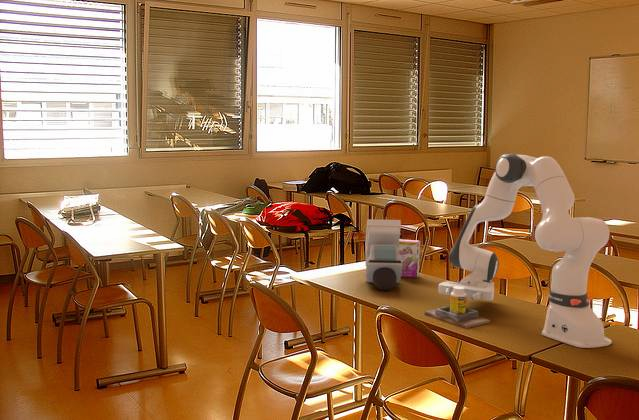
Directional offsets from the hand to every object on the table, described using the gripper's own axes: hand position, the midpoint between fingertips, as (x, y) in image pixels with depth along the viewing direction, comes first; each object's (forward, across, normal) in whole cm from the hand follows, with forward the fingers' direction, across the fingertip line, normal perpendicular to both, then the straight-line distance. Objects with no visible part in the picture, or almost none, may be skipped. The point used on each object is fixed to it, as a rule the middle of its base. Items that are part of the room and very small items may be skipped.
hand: (459, 295), depth 245 cm
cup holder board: (+3, 0, +8) cm, 8 cm away
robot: (-28, -42, +8) cm, 52 cm away
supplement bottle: (+3, 0, +7) cm, 7 cm away
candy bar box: (-49, -40, +8) cm, 63 cm away
